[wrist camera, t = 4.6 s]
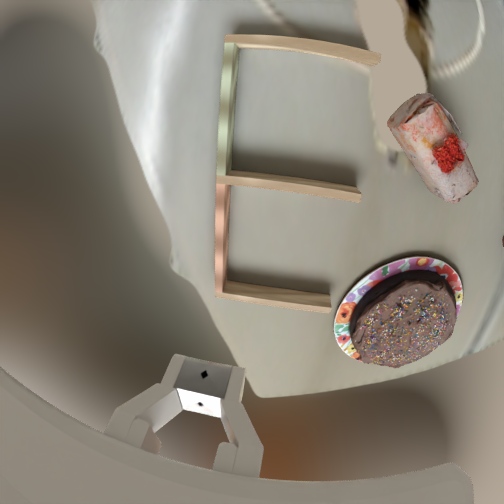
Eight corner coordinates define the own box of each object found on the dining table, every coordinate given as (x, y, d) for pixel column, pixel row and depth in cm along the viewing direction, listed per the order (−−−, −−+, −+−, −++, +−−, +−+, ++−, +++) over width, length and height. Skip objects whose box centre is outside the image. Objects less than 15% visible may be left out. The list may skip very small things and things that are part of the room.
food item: (375, 120, 31) (401, 124, 22) (412, 90, 27) (446, 87, 19) (426, 193, 34) (456, 219, 26) (459, 164, 31) (495, 183, 22)
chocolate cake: (305, 304, 48) (305, 330, 42) (440, 222, 36) (458, 241, 30) (366, 374, 56) (369, 396, 50) (468, 319, 44) (479, 339, 39)
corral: (231, 40, 28) (225, 34, 25) (373, 58, 26) (380, 54, 23) (220, 284, 48) (215, 297, 45) (328, 300, 46) (329, 313, 43)
